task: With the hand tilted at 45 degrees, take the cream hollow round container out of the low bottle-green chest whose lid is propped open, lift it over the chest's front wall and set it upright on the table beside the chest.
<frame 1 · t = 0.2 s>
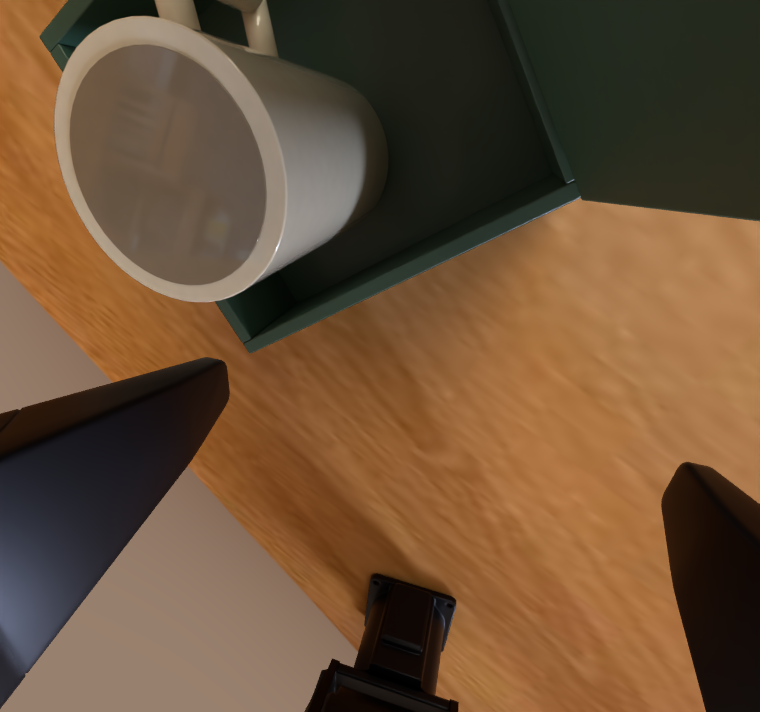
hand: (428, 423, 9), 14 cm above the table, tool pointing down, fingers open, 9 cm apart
chest: (345, 115, 20), on the table
cream hollow round container: (317, 160, 21), point 1 cm above the table, touching chest
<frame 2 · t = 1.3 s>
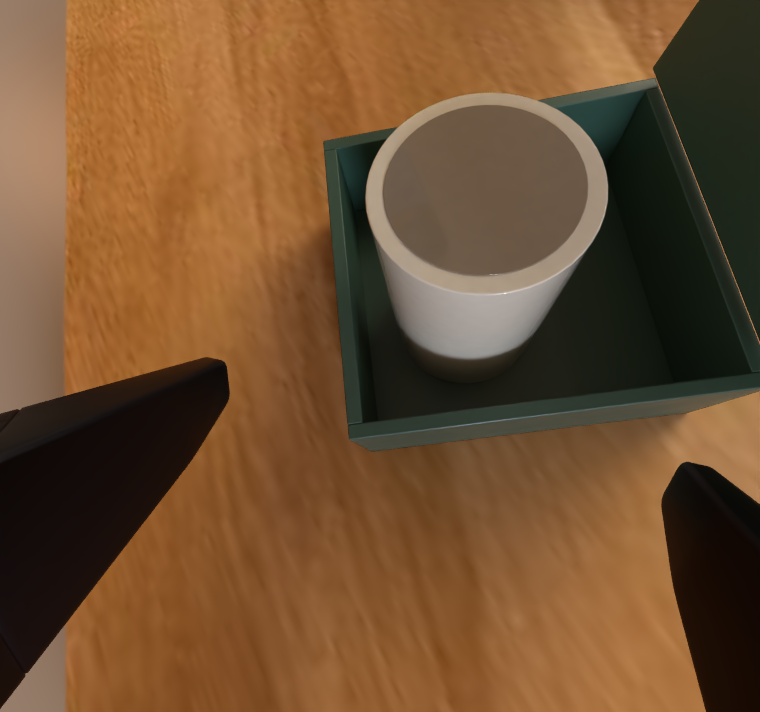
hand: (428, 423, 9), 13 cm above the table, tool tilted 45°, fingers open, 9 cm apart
chest: (497, 299, 23), on the table
cream hollow round container: (463, 318, 23), point 1 cm above the table, touching chest
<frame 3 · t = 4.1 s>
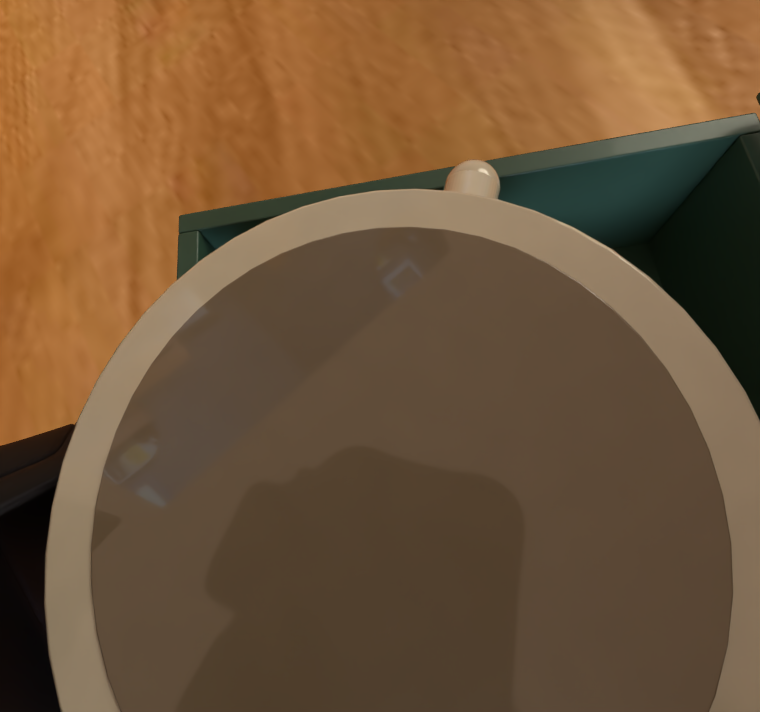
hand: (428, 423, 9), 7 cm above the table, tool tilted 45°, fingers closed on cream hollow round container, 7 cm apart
chest: (478, 454, 15), on the table
cream hollow round container: (422, 492, 14), point 1 cm above the table, touching chest, gripper
when the fingers open (6 cm above the table, at t = 11.5 s): cream hollow round container stays where it is, on the table.
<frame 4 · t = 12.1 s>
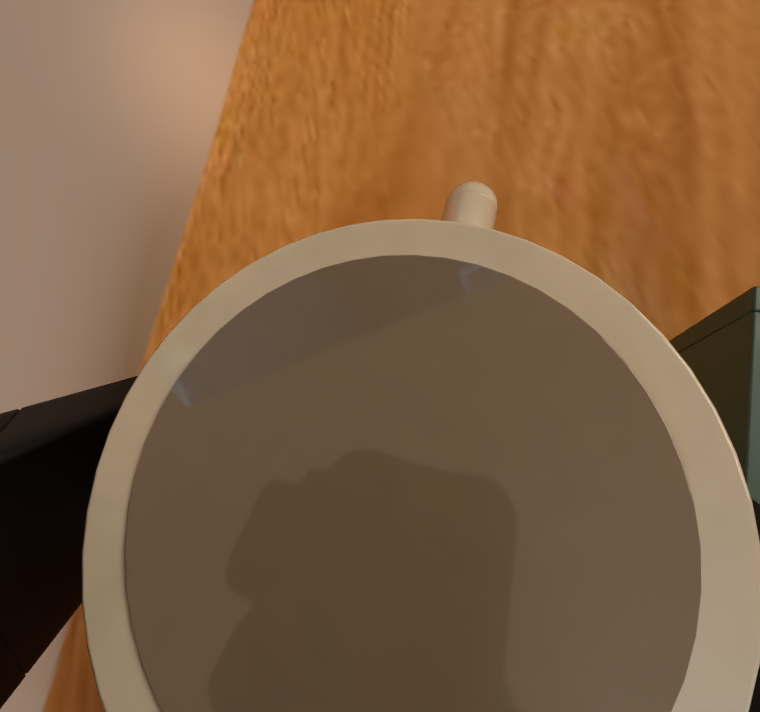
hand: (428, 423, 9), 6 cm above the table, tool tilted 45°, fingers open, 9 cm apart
cream hollow round container: (423, 494, 14), on the table
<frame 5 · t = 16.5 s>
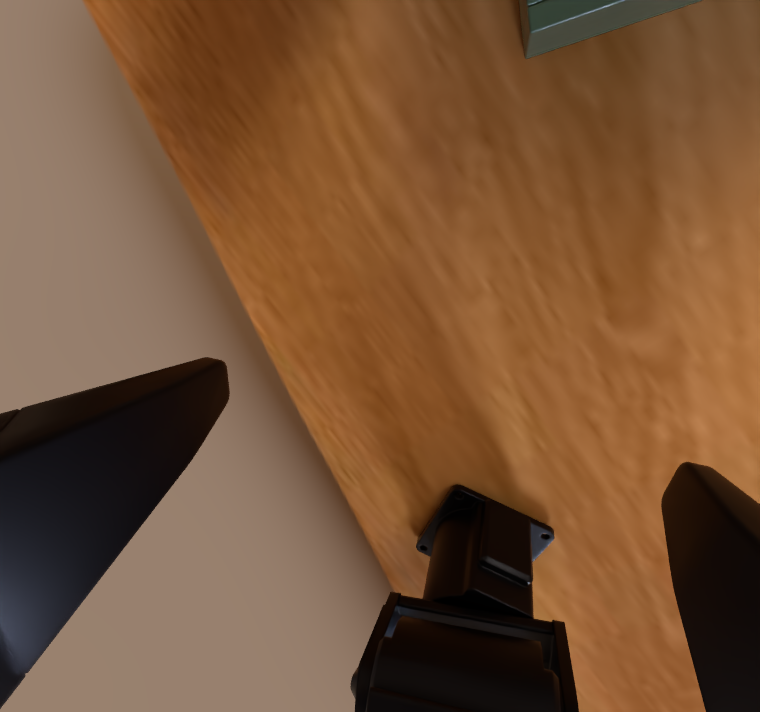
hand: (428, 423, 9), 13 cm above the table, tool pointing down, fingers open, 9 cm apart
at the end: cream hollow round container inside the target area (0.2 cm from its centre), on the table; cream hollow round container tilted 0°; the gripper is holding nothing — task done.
